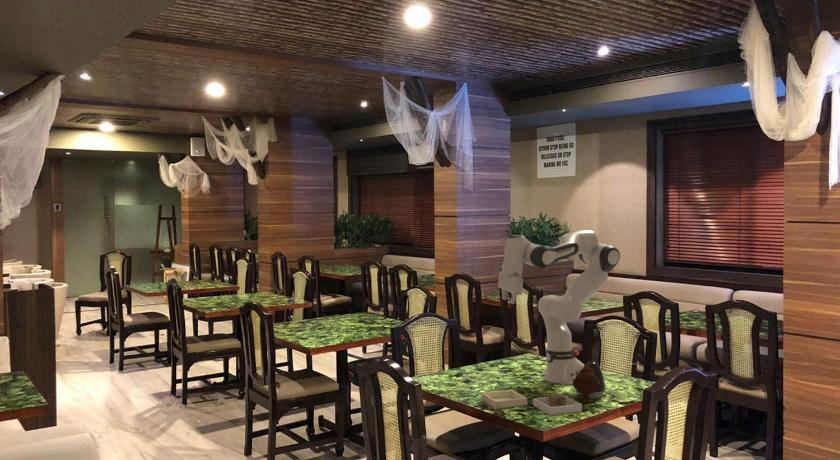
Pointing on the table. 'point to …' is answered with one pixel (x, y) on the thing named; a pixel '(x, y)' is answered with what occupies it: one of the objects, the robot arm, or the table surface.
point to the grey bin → (569, 408)
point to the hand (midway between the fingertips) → (508, 301)
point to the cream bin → (503, 399)
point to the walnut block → (556, 400)
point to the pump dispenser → (599, 375)
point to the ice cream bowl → (586, 383)
